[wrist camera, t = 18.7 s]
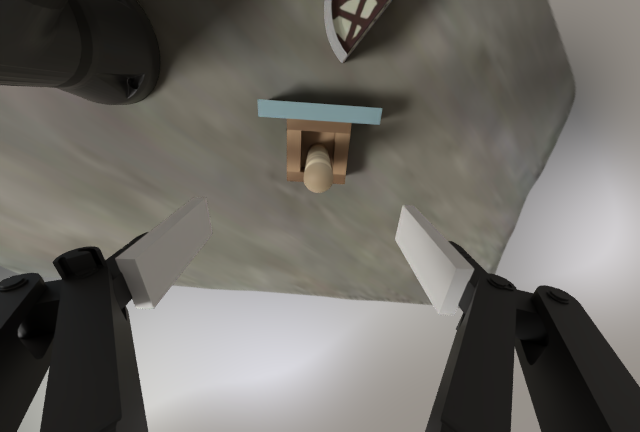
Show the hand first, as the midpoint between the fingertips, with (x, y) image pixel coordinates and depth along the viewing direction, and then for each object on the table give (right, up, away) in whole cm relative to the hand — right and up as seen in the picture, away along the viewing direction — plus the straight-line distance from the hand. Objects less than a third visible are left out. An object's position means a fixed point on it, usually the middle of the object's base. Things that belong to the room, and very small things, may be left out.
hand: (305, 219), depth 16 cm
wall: (+1, +16, +20) cm, 25 cm away
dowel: (+1, +10, +22) cm, 24 cm away
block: (+1, +11, +22) cm, 25 cm away
